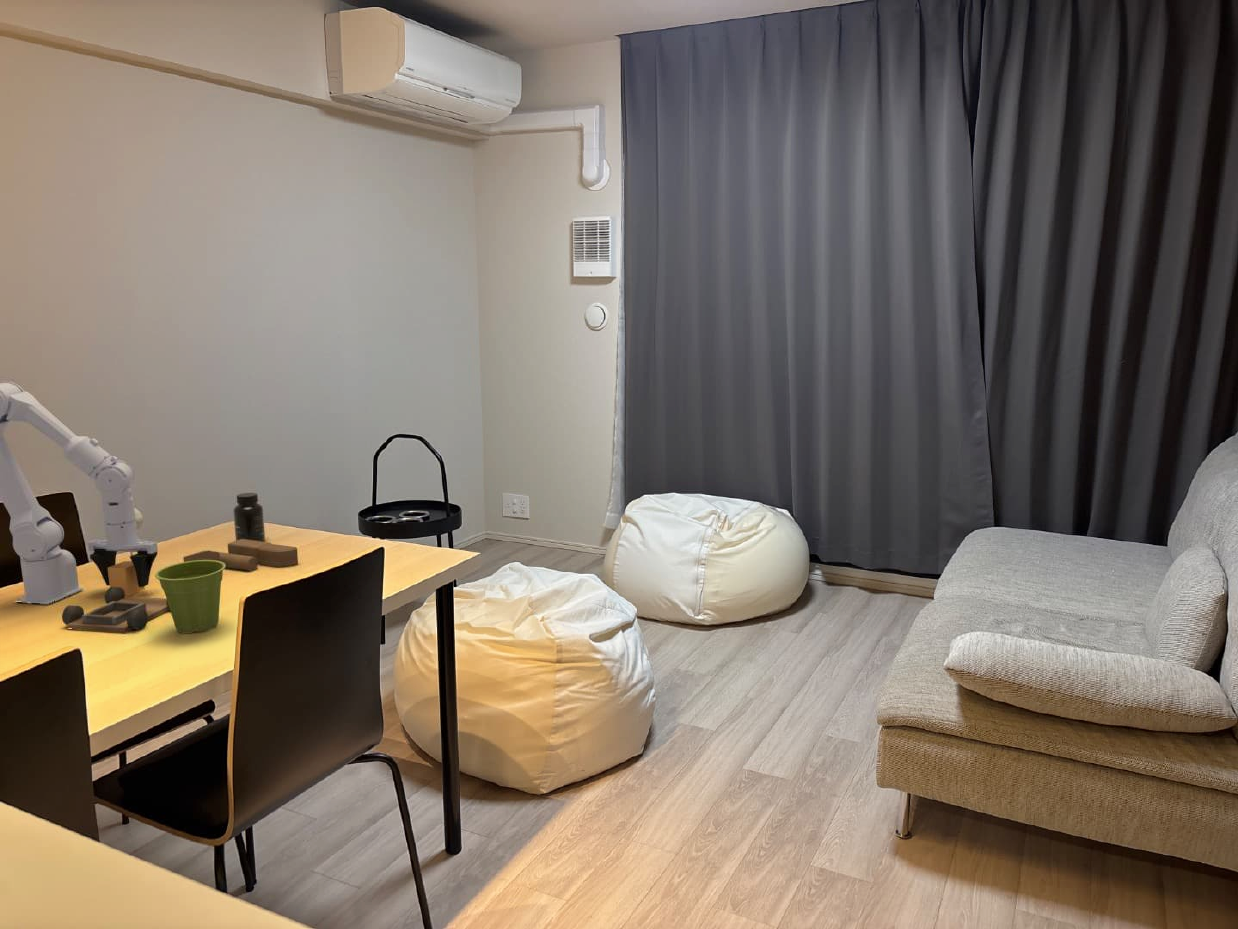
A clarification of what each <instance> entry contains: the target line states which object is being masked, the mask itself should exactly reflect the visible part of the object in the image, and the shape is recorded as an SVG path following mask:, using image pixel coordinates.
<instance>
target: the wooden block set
mask: <svg viewBox="0 0 1238 929" xmlns="http://www.w3.org/2000/svg"><path fill="white" fill-rule="evenodd" d="M298 554H299V553H298V548H297V547H296V546H289V545H284V544H283V545H282V544H276V543H275V544H274V543H271V542H268V541H263V542H261V541H254V540H246V539H240V540H237V541H236V540H234V541H231V542H229V543H227V552H221V551H216V550H215V551H213V550H202V551H198V552H195V553H192V554H188V555H185V556H183V562H188V561H195V560H216V561H221V562H223V563H225V565H226V567H225V569H226V568H227V569H234V570H239V571H240V570H241V571H247V572H253V571H255V570H256V569H257V568H258V566H267V567H273V568H287V567H294V566H296V565H298V564H299V557H298Z"/></svg>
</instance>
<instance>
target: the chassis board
mask: <svg viewBox="0 0 1238 929" xmlns="http://www.w3.org/2000/svg"><path fill="white" fill-rule="evenodd" d="M104 602H105V603H106V604H103V605H102V606H99V607H97V608H96V609H93V610H91V611H89V612H87V613H85V611H84V609H83V607H82V606H81V605H71V604H70V605H67V606H66V607H65V608H64V609H63V611H62V614H61V620H62V622H63V623H64V624H65V625H66V626H67V629H68V628H72V629H81V630H80V631H83V630H88V631H87V632H100V633H102V632H103V633H113V632H118V633H117V634H126V632H127V633H129V632H131V631H133V630H143V629H144V628H145V627H146V626H147V624H148V622H150V621H152V620H154V619H156V618H157V617H159V616H162V615H164V614H165V613H167V612H169V611H170V608H169V605H168V602H167V599H166V597H165V598H162V597H147V596H146V597H145V596H132V595H131V596H127V597H125V592H124V590H123V589H122V588H120V587H110V586H109V588H107V590H106V591H105V594H104Z"/></svg>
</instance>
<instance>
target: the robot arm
mask: <svg viewBox="0 0 1238 929" xmlns="http://www.w3.org/2000/svg"><path fill="white" fill-rule="evenodd" d="M10 421H12V422H13V421H14V422H22V423H23V422H24V423H28V424H29V425H31V426H32V427H33V428H35V429H36V430H37V431H39V432H40V433H42V434H43V435H45V436H46V437H47V438H49V439H50V440H52V441H53V442H54V443H56V444H58V446H59V447H62V448H63V455H64V458H65V459H67V460H68V461H69V462H70V463H71V464H73V466H75V467H77V468H78V469H79V470H80V471H82V472H83V473H84V474H85V475H87V476H88V477H89V478H90V479H94V481H93V482H94V487H95V488H96V489H97V490H98V491H99V492H100V496H101V497H100V498H101V507H102V508H101V509H102V515H103V516H102V517H103V526H104V534H105V539H93V540H89V541H88V542H87V543H88V551H89V552H92V553H91V554H89V559H90V560H92V562H93V563H94V564H95V565H96V567H97V569H98V570H99V573H100V574H101V576H102V578H103V580H104V583H105V585H106V586H109V587H110V584H109V575H108V567H111V566H113V565H116V564H117V563H116V561H117V560H116V559H117V554H118V552H129V553H130V552H133V553H135V554H133V555H132V556H131V555H130V556H129V559H130V561H132V562H133V565H134V567H135V571H136V576H137V582H138V586H139V587H146V586H148V585H149V584H150V583H149V581H150V575H151V572H152V567H153V564H154V563H155V559H156V557H157V555H158V549H159V548H158V541H149V540H144V539H140V537H138V530H137V527H136V518H135V509H136V508H135V504H134V503H135V502H134V497H133V488H132V485H131V484H132V483H133V481H134V480H135V479H134V478H135V473H134V470H133V467H131V465H129V463H128V462H126V461H123V460H118V459H119V458H118V457H117V456H116V455H111V454H110V453H108V452H107V451H106V450H105V449H104V448H102V447H101V446H100V445H98V444H99V443H100V442H99V440H97V439H96V438H90V437H88V436H86V435H83V436H80V435H79V436H78V435H76V434H75V433H74V432H73V431H71V429H69V428H68V427H67V426H66V425H65V424H63V422H61V421H60V420H59V419H58V418H57V417H56V416H55V415H54V414H52V412H50V411H49V410H48V409H47V408H46V407H45V406H43V405H42V404H41V403H40V401H38V400H37V399H36V398H35V396H34V395H32V394H31V393H29V392H28V391H26V390H25V391H24V389H23V387H21V386H20V385H18V384H17V383H14V382H12V381H2V382H0V500H1V501H2V503H3V505H4V507H5V509H6V510H7V513H8V514H9V517H10V522H9V531H10V534H11V536H12V547H13V550H14V551H15V553H16V554H17V555H18V556H19V558H20V568H21V576H22V582H23V590H24V595H23V596H22V597H20V598H16V599H14V602H15V601H21V602H30V603H29V604H32V603H40V604H39V605H50V604H49V603H51V604H53V603H55V602H58V601H60V600H63V599H65V598H67V597H70V596H71V595H74V594H76V593H79V592H81V591H83V590H84V588H83V587H80V585H79V578H78V570H77V562H76V558H75V557H74V555H73V554H72V553H71V552H70V551H69V550H66V549H62V548H61V547H60V544H61V543H62V541H63V540H64V538H65V531H64V530H65V529H64V528H63V526H62V525H61V524H60V523H59V522H58V521H57V520H55V519H54V518H53V517H52V515H51V514H50V512H49V511H48V510H47V509H46V508H44V507H43V506H42V505H40V504H39V502H38V500H37V498H36V496H35V494H34V492H33V490H32V489H31V487H30V485H29V483H28V480H27V478H26V477H25V475H24V473H23V471H22V469H21V467H20V465H19V463H18V461H17V460H16V458H15V456H14V454H13V452H12V450H11V447H10V445H9V444H8V441H7V440H6V439H5V436H4V435H3V434H4V431H6V428H7V426H8V425H9V423H10ZM134 508H135V509H134ZM69 595H70V596H69ZM64 597H65V598H64ZM54 601H55V602H54ZM52 602H53V603H52Z"/></svg>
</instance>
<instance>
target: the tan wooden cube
mask: <svg viewBox="0 0 1238 929" xmlns="http://www.w3.org/2000/svg"><path fill="white" fill-rule="evenodd" d="M108 575H109V584H110V585H109V588H110V587H120V588H122V589H123V590H124V592H125V596H126V597H127V596H130V595H131V596H133V595H135V594H137V593H139V592H142V591H144V590H145V589H146V588H145V587H146V586H144V587H139V586H138V582H137V576H136V571H135V567H134V565H133V562H132V561H131V560H124V561H121V562H118V563H116V564H115V565H113V566H111V567H108ZM143 589H144V590H143ZM141 590H142V591H141Z"/></svg>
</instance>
